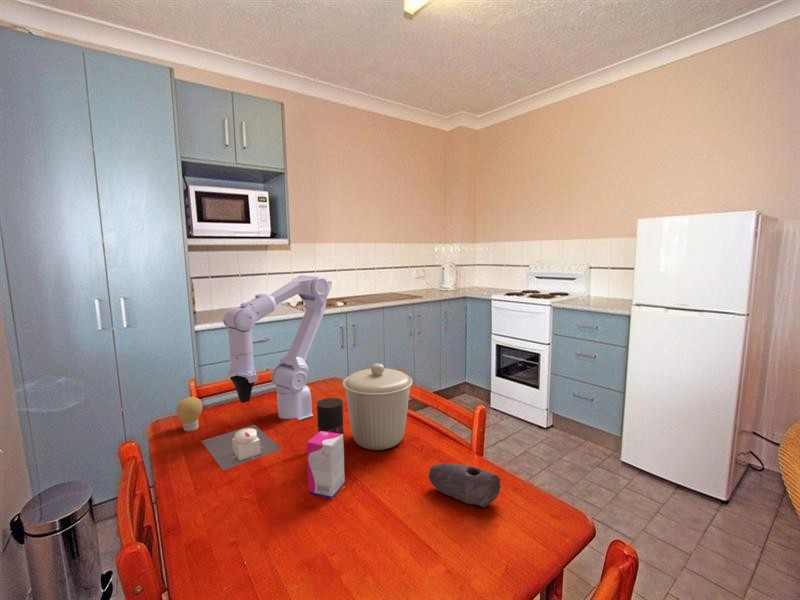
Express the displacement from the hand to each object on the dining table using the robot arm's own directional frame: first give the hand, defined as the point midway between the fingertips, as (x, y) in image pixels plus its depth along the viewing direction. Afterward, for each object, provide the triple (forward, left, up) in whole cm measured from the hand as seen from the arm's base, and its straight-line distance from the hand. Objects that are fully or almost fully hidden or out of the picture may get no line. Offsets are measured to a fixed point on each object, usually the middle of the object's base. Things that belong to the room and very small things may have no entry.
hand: (244, 401), depth 105 cm
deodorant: (-10, +27, -10) cm, 31 cm away
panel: (+4, +6, -10) cm, 12 cm away
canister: (-25, +26, -10) cm, 38 cm away
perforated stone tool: (-23, +56, -10) cm, 62 cm away
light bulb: (+11, -13, -10) cm, 20 cm away
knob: (+4, +11, -9) cm, 15 cm away
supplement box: (-4, +35, -10) cm, 37 cm away
